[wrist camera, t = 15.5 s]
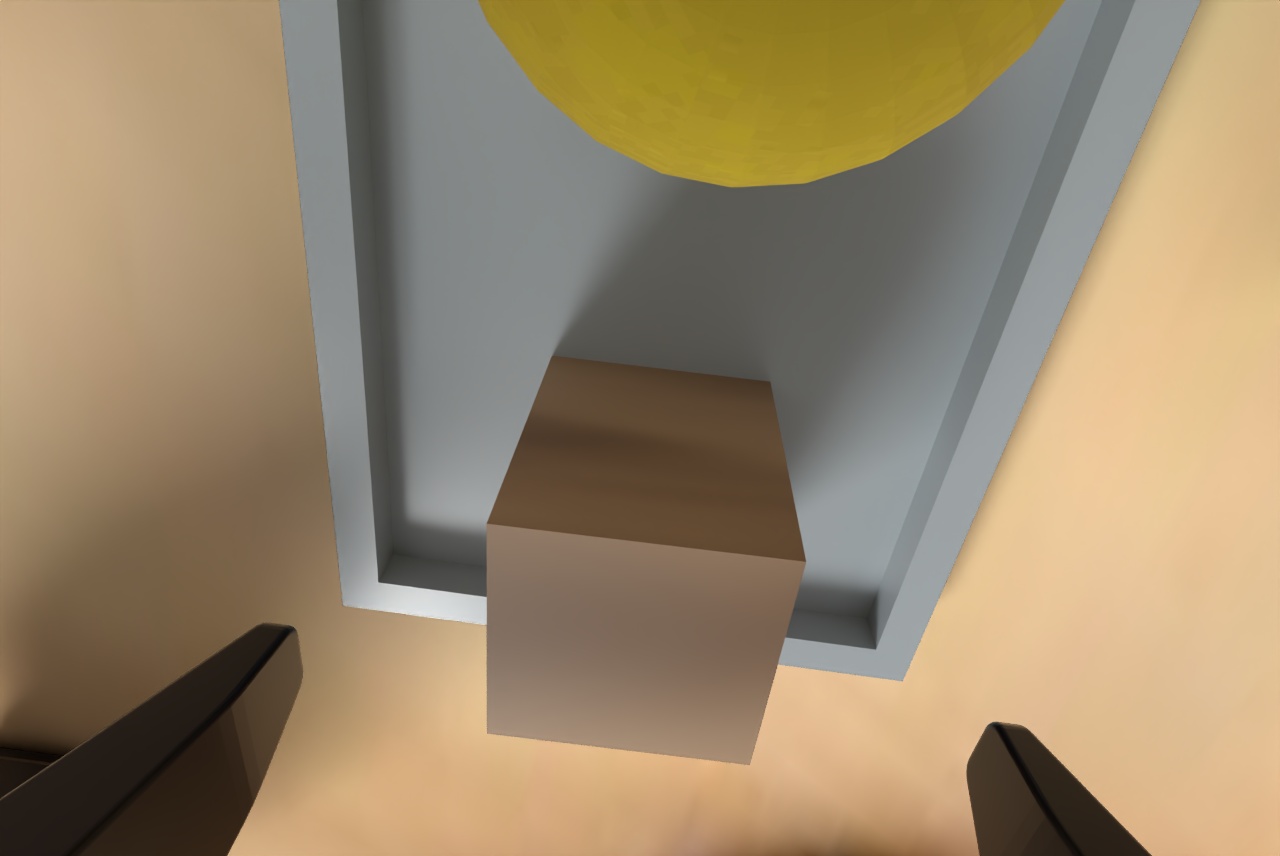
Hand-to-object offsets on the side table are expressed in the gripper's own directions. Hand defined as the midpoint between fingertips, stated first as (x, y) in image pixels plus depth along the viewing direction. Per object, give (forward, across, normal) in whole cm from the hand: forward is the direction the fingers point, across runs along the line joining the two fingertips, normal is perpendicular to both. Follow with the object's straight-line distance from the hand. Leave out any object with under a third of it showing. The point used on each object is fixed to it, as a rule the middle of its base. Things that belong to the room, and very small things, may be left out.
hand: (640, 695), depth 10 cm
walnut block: (+6, 0, 0) cm, 6 cm away
